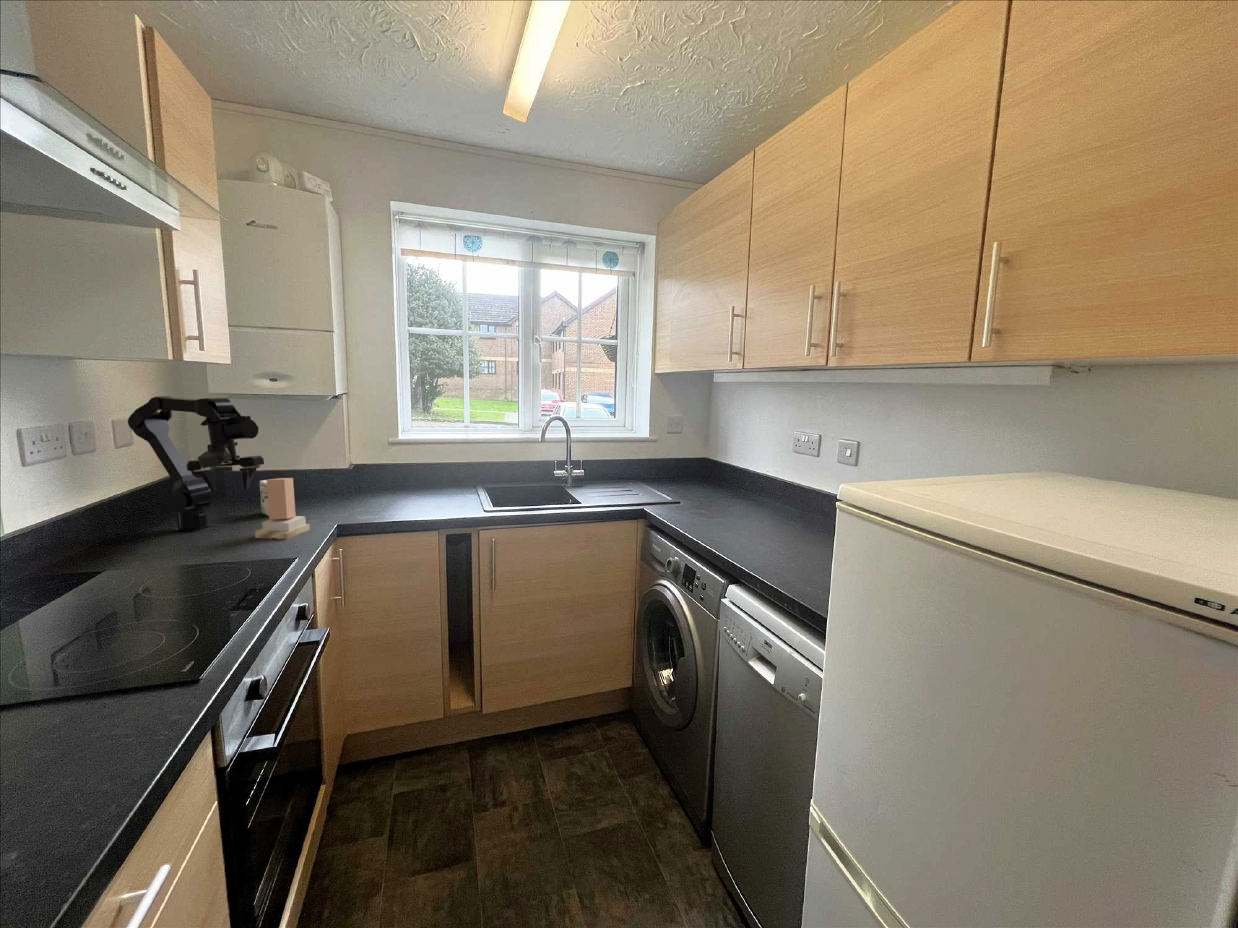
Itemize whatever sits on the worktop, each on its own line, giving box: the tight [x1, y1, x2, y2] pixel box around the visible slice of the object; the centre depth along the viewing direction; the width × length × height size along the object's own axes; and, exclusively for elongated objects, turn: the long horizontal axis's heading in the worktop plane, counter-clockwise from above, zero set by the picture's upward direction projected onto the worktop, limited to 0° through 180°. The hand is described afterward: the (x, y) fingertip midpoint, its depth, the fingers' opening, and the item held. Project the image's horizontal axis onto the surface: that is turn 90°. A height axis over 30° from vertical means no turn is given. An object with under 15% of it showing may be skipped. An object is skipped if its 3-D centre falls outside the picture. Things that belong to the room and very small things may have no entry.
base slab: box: [254, 523, 311, 540], centre depth 157 cm, size 10×10×2 cm
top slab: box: [261, 515, 307, 531], centre depth 157 cm, size 8×8×2 cm
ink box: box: [259, 479, 269, 517], centre depth 178 cm, size 9×5×12 cm, turn 53°
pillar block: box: [266, 477, 297, 520], centre depth 157 cm, size 5×5×12 cm
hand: (230, 491), depth 155 cm, fingers open, 9 cm apart
